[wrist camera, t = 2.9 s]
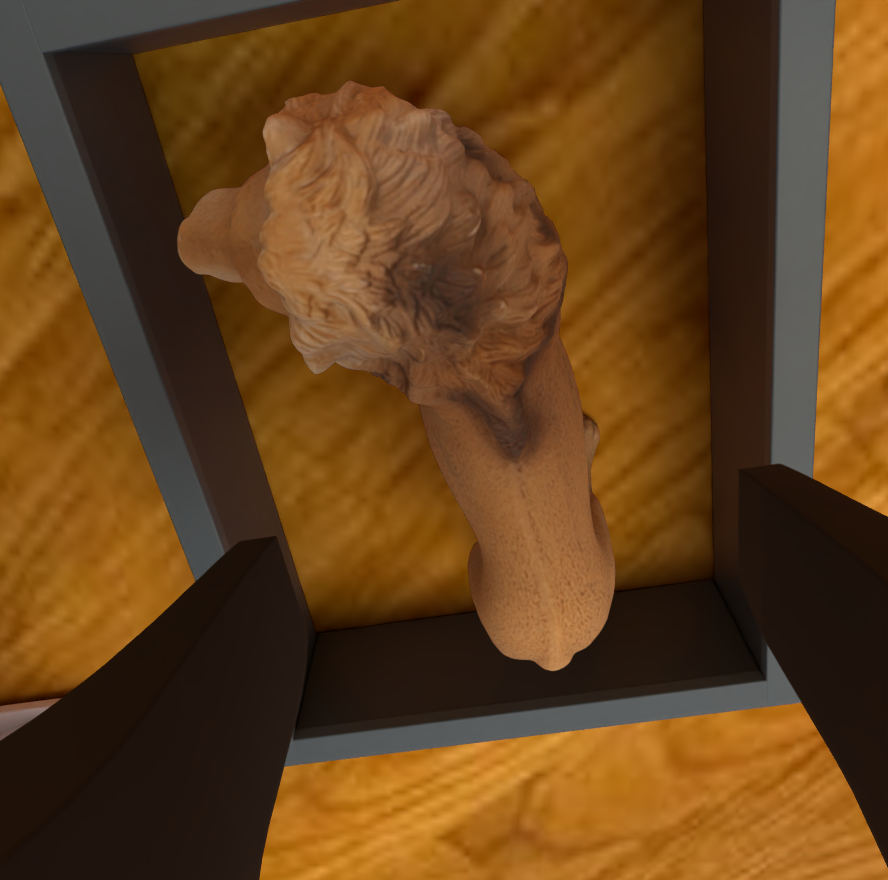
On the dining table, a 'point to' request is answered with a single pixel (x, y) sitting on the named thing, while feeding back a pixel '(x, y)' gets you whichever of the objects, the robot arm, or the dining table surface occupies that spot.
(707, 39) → the crate
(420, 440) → the dining table surface
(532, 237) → the lion figurine
